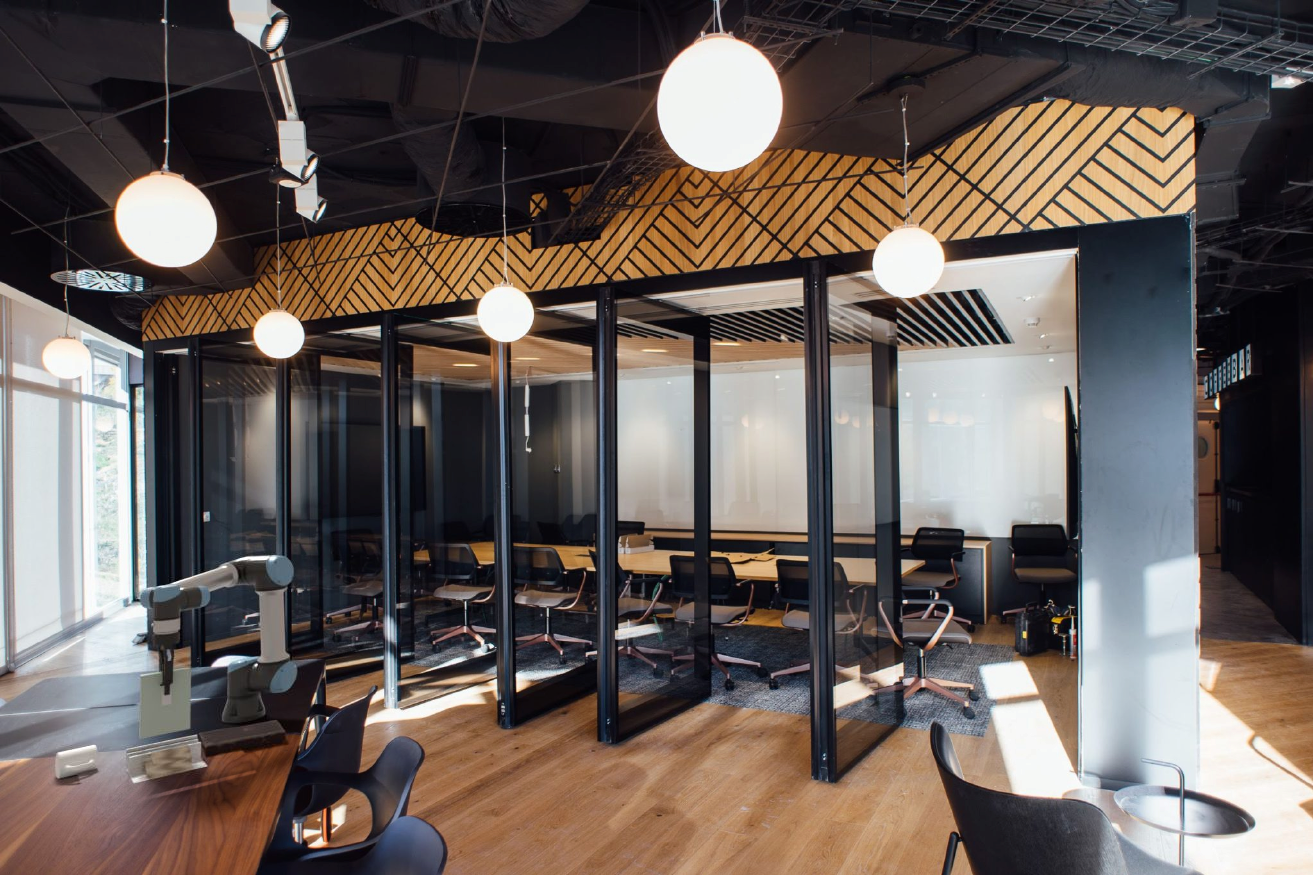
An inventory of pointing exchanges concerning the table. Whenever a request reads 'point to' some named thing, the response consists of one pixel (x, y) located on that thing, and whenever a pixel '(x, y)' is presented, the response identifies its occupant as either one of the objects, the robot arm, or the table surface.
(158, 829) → the table surface
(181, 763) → the offcut lower
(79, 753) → the mug
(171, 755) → the offcut upper
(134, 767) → the rack
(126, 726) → the table surface
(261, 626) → the robot arm
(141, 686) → the board
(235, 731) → the diary
